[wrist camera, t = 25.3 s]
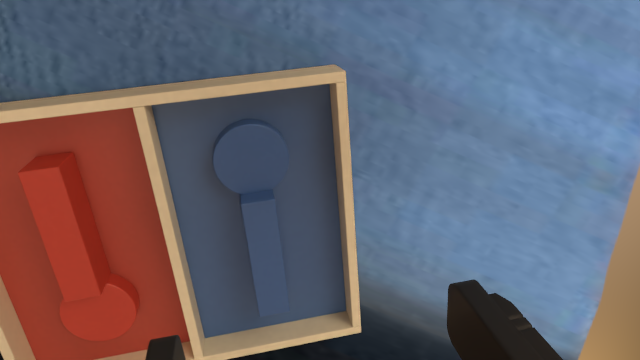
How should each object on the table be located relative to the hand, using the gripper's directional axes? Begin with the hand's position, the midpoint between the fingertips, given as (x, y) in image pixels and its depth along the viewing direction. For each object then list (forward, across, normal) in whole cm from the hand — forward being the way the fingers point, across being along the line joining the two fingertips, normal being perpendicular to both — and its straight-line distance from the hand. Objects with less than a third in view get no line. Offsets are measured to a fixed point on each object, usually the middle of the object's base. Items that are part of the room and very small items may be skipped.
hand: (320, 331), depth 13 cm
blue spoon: (+16, +1, +4) cm, 16 cm away
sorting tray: (+16, +7, +4) cm, 18 cm away
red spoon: (+16, +12, +4) cm, 20 cm away
